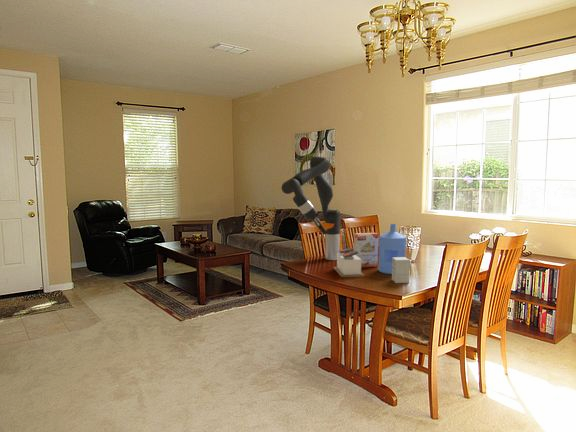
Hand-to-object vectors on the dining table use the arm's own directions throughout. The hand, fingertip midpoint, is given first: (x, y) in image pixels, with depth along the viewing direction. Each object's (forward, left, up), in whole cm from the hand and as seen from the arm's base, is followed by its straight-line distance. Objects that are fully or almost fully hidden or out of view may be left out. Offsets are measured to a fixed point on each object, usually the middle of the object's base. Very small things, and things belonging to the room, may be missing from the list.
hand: (325, 233), depth 240 cm
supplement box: (+20, +37, -24) cm, 49 cm away
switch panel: (-2, +14, -24) cm, 28 cm away
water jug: (-2, +40, -24) cm, 47 cm away
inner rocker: (-7, +14, -13) cm, 21 cm away
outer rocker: (+4, +14, -13) cm, 20 cm away
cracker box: (-16, +28, -24) cm, 40 cm away
